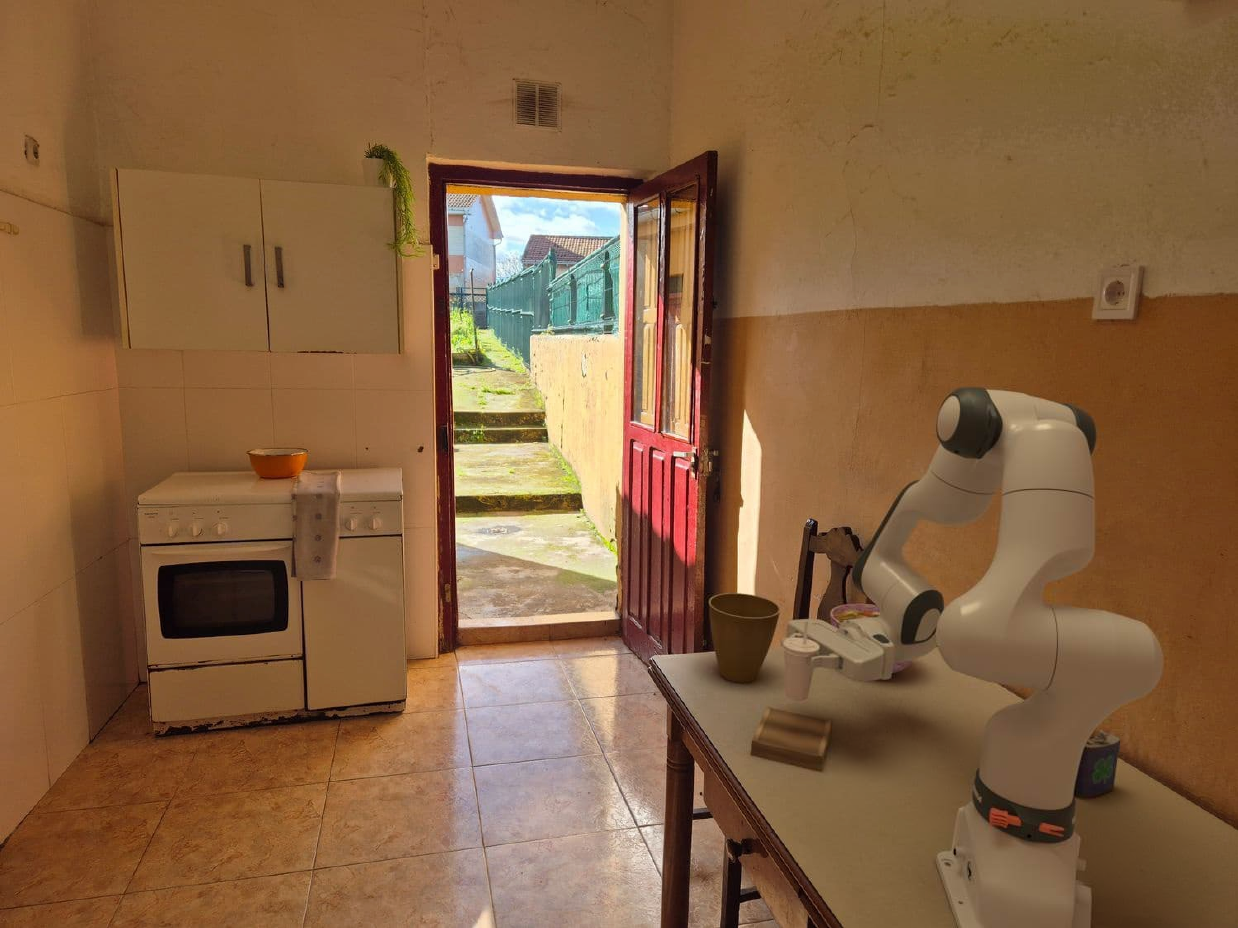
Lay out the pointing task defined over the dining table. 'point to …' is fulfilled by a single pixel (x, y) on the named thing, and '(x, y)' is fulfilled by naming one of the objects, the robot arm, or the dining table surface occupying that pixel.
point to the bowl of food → (857, 612)
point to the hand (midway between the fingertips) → (796, 652)
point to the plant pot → (742, 633)
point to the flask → (1097, 766)
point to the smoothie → (798, 665)
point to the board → (792, 738)
